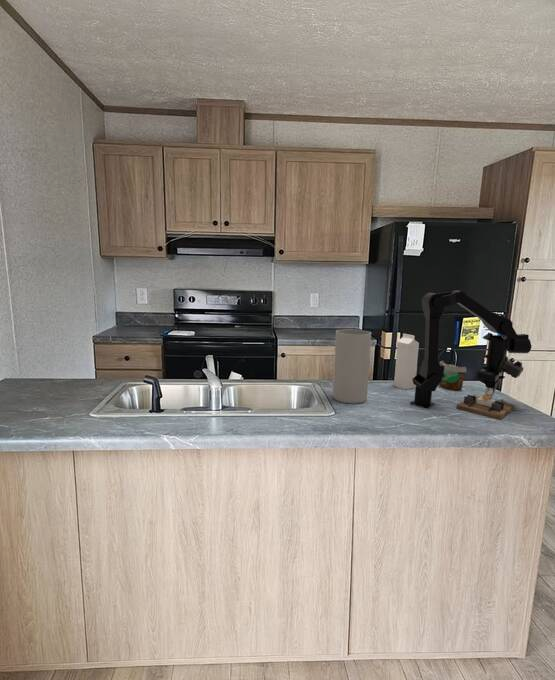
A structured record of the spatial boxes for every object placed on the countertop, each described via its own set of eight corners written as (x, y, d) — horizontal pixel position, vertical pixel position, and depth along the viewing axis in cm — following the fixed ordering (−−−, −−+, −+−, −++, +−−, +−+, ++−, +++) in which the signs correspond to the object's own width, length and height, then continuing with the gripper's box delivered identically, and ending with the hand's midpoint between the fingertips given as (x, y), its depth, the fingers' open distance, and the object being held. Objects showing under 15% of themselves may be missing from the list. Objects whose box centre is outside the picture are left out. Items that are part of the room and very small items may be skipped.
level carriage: (491, 407, 136) (493, 391, 135) (476, 403, 139) (477, 388, 138) (496, 403, 139) (498, 388, 138) (481, 400, 142) (483, 385, 141)
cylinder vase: (373, 399, 146) (378, 332, 142) (352, 406, 138) (357, 336, 133) (346, 391, 155) (350, 328, 151) (325, 397, 147) (328, 331, 143)
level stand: (499, 419, 129) (501, 408, 128) (456, 408, 139) (457, 397, 138) (514, 408, 140) (516, 397, 139) (473, 399, 150) (474, 388, 149)
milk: (404, 390, 159) (409, 336, 155) (393, 386, 164) (397, 333, 160) (415, 388, 162) (419, 335, 158) (404, 384, 167) (408, 332, 163)
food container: (429, 384, 168) (431, 361, 166) (440, 383, 170) (442, 360, 169) (453, 392, 157) (456, 368, 155) (464, 391, 159) (467, 367, 158)
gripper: (514, 360, 127) (508, 406, 130) (529, 353, 140) (523, 395, 143) (477, 354, 135) (472, 398, 138) (495, 348, 148) (490, 388, 151)
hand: (491, 395), depth 142 cm, fingers closed
